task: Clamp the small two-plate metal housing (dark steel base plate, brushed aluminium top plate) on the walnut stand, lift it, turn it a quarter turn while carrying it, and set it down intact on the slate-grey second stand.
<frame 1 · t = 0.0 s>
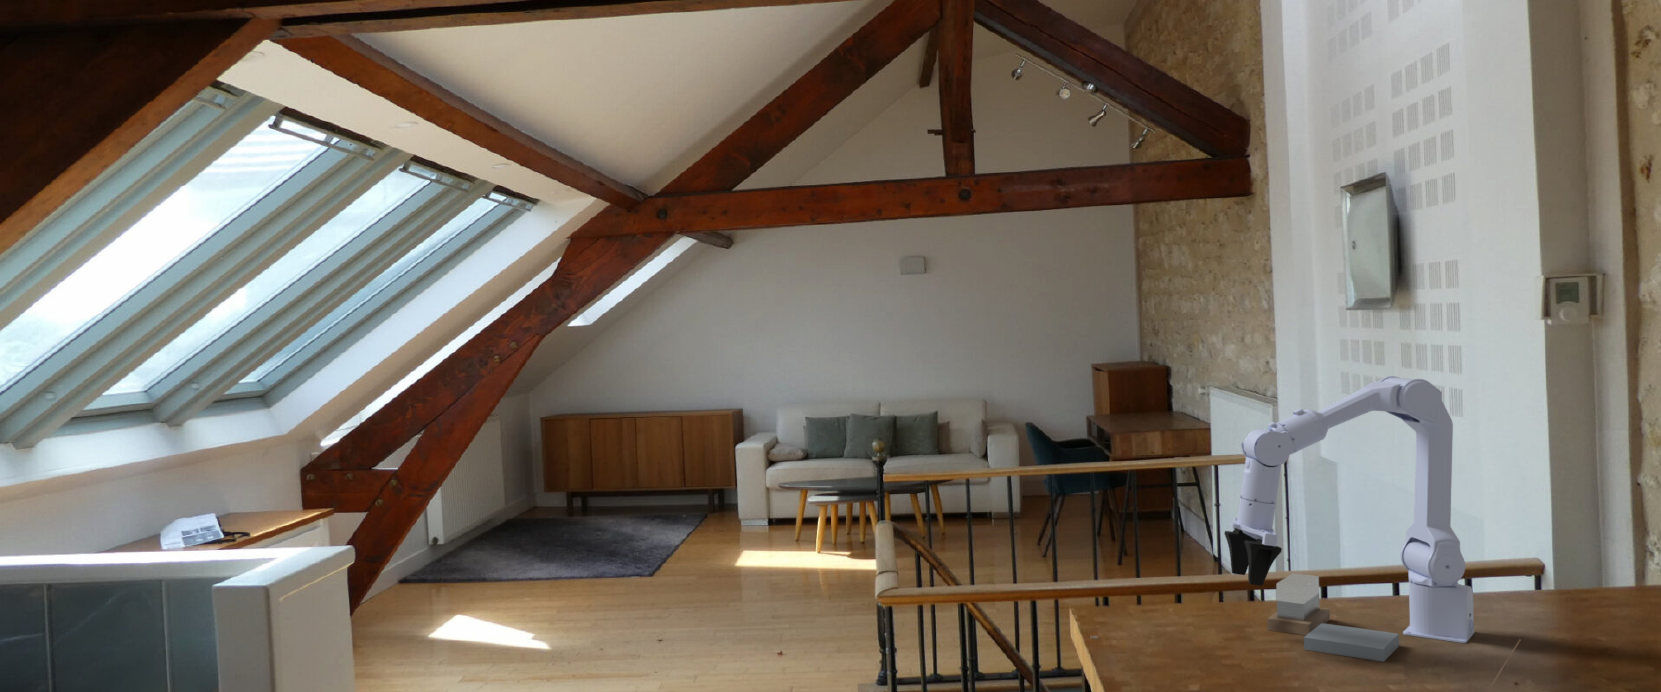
hand: (1246, 579, 187), 10 cm above the table, tool pointing down, fingers open, 7 cm apart
stand b: (1351, 647, 181), on the table
stand a: (1298, 624, 195), on the table
housing: (1298, 613, 195), point 2 cm above the table, touching stand a
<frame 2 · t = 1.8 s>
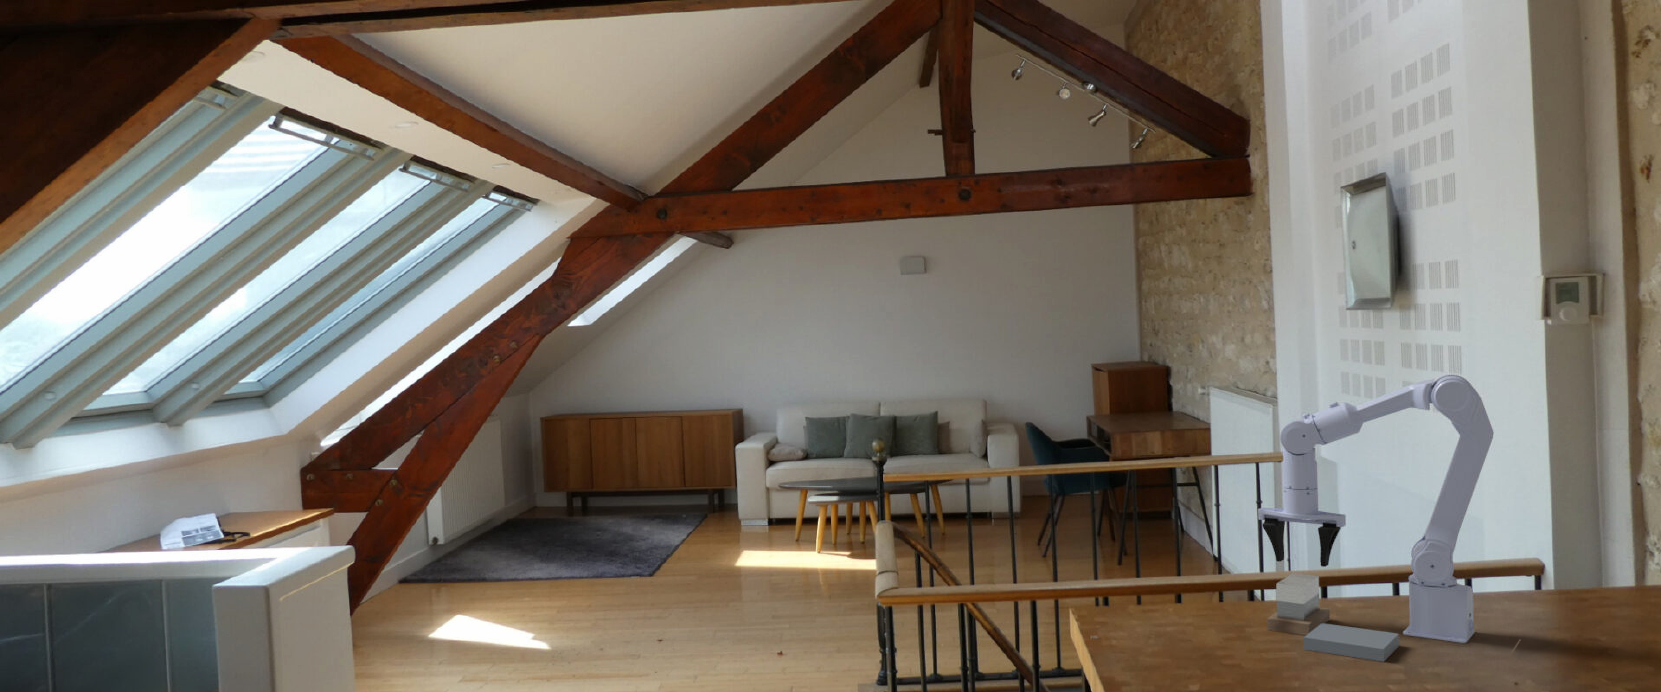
hand: (1302, 562, 197), 10 cm above the table, tool pointing down, fingers open, 7 cm apart
nothing on the table moved.
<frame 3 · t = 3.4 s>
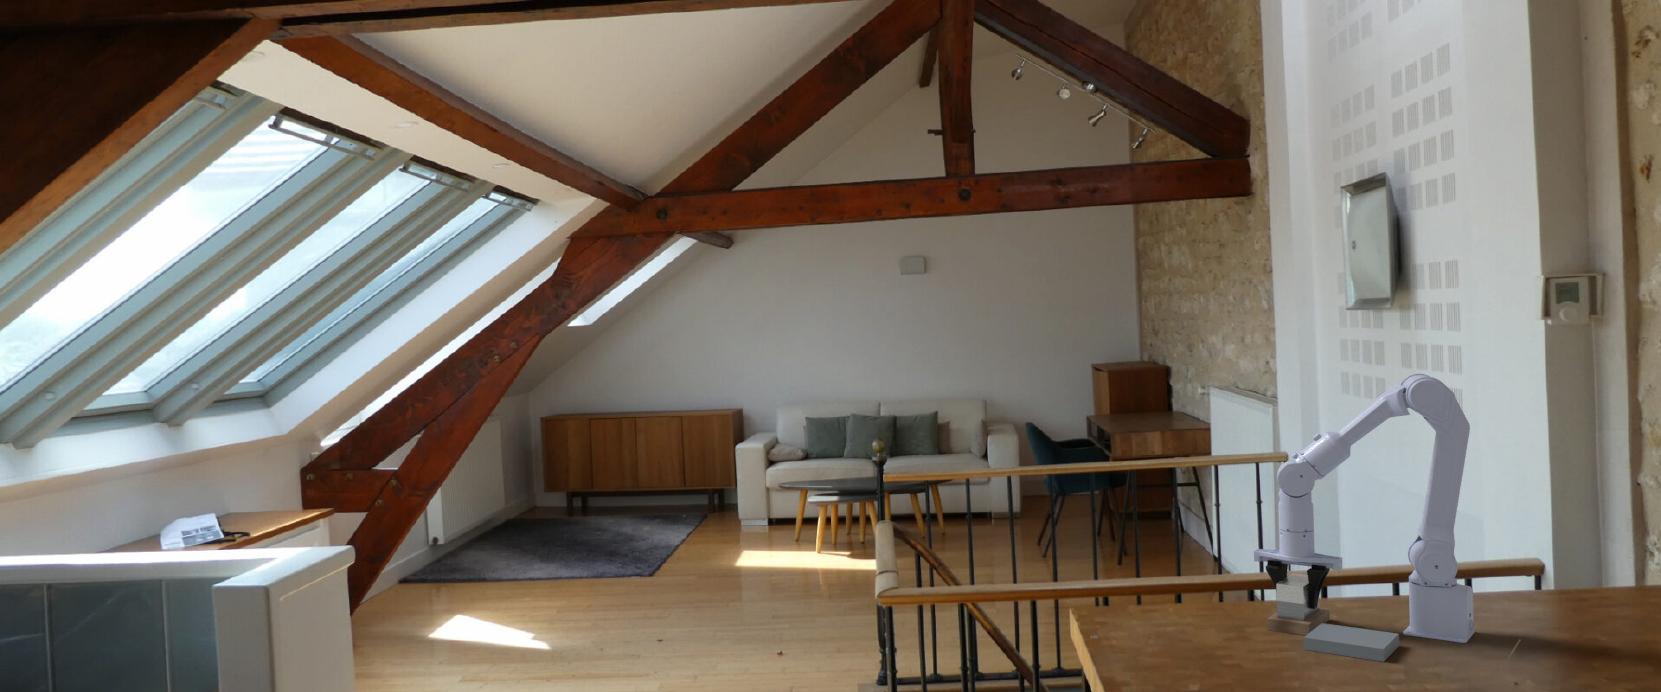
hand: (1298, 605, 195), 3 cm above the table, tool pointing down, fingers closed on housing, 4 cm apart
housing: (1298, 613, 195), point 2 cm above the table, touching gripper, stand a
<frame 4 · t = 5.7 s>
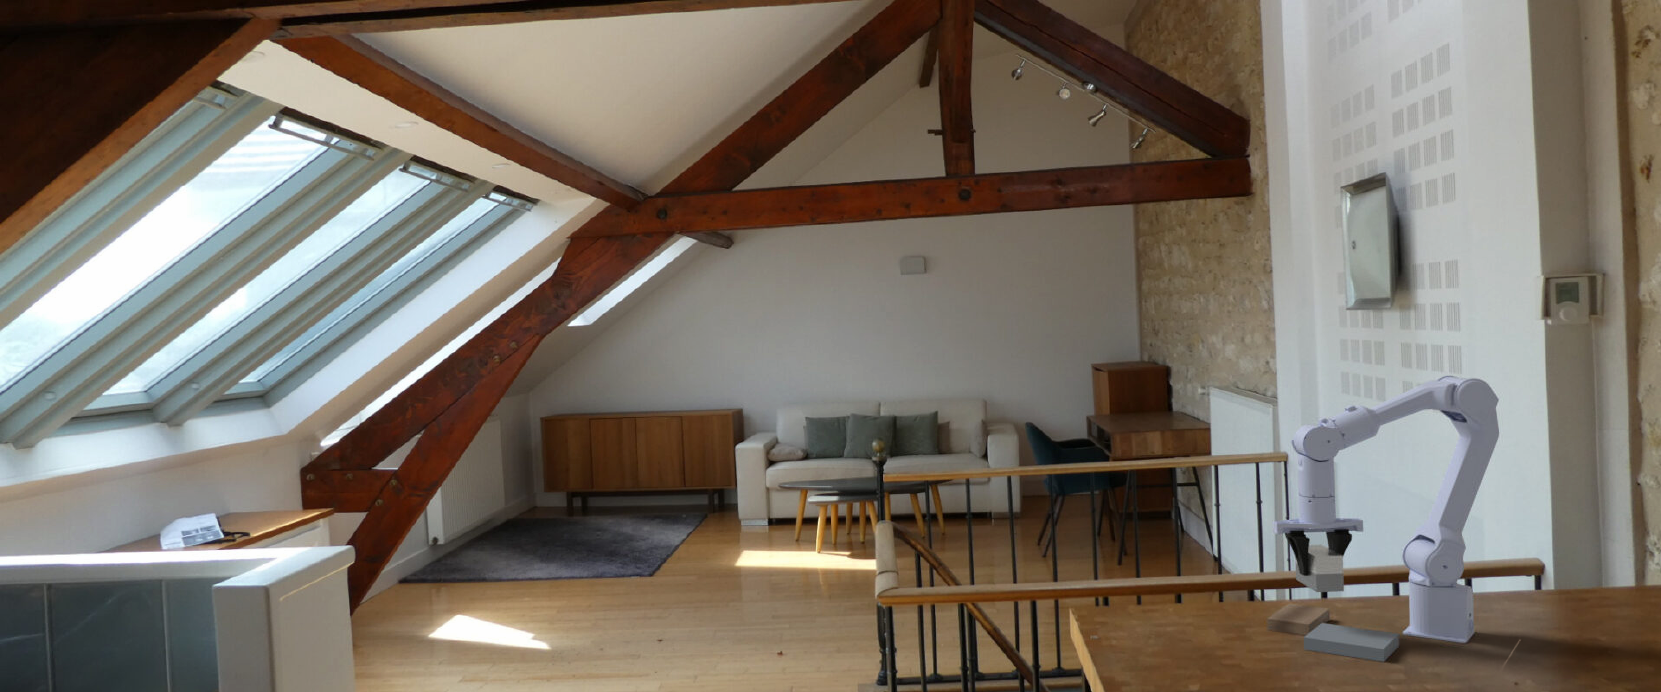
hand: (1319, 574, 189), 10 cm above the table, tool pointing down, fingers closed on housing, 4 cm apart
housing: (1319, 585, 189), point 8 cm above the table, touching gripper
when the fingers open (5 cm above the table, at t = 8.2 s): housing stays where it is, resting on stand b.
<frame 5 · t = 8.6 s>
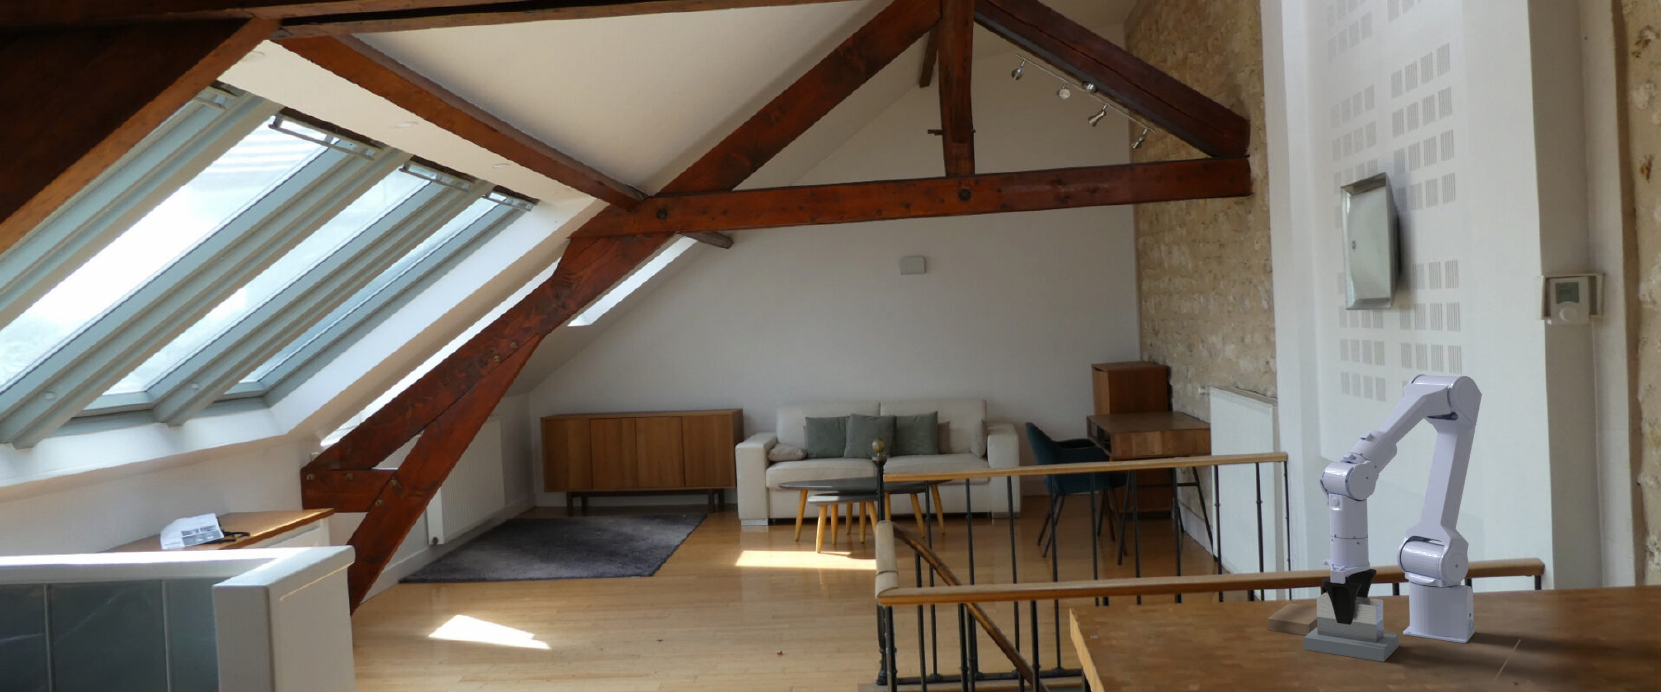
hand: (1350, 617, 181), 5 cm above the table, tool pointing down, fingers open, 7 cm apart
housing: (1350, 635, 181), point 2 cm above the table, touching stand b
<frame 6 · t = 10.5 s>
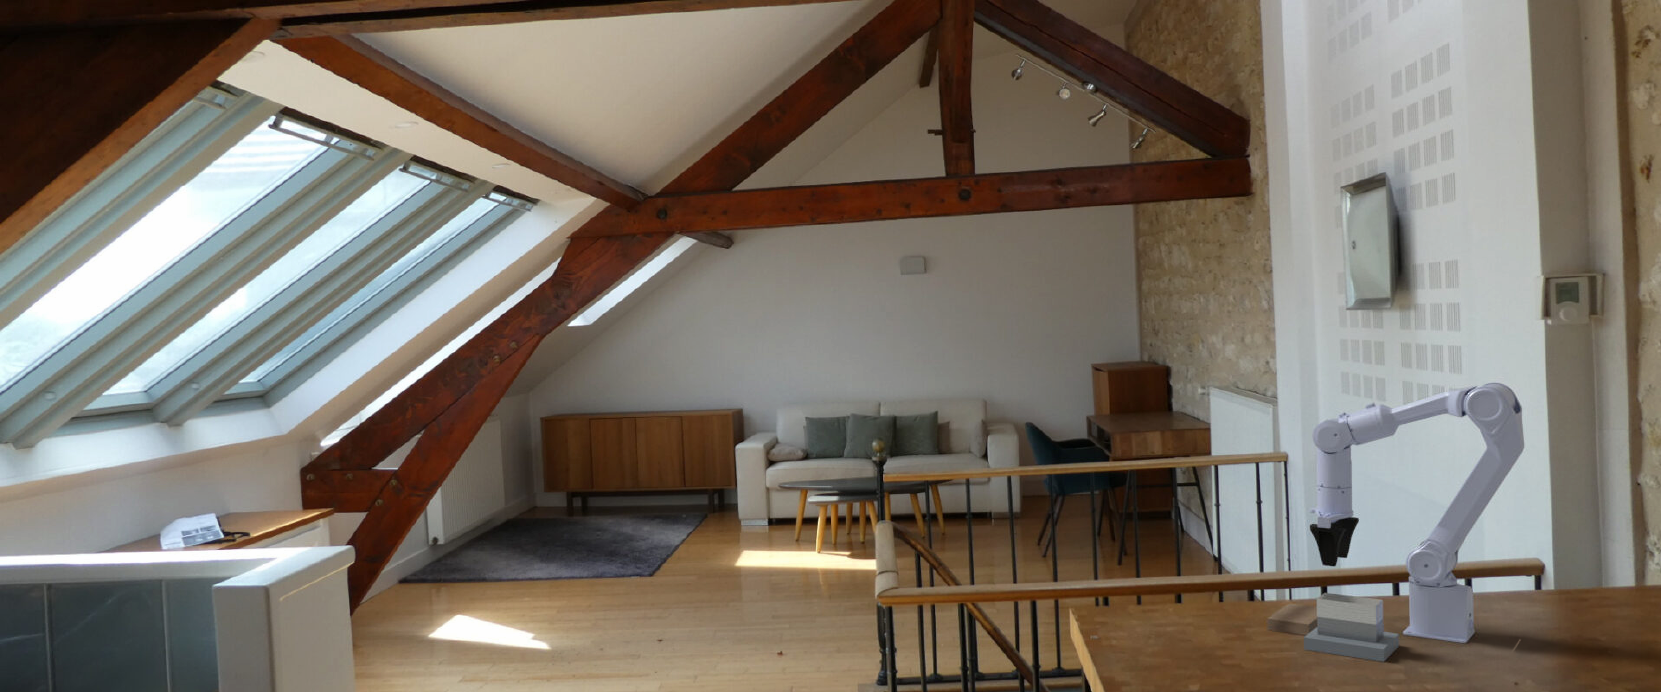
hand: (1334, 561, 197), 10 cm above the table, tool pointing down, fingers open, 7 cm apart
nothing on the table moved.
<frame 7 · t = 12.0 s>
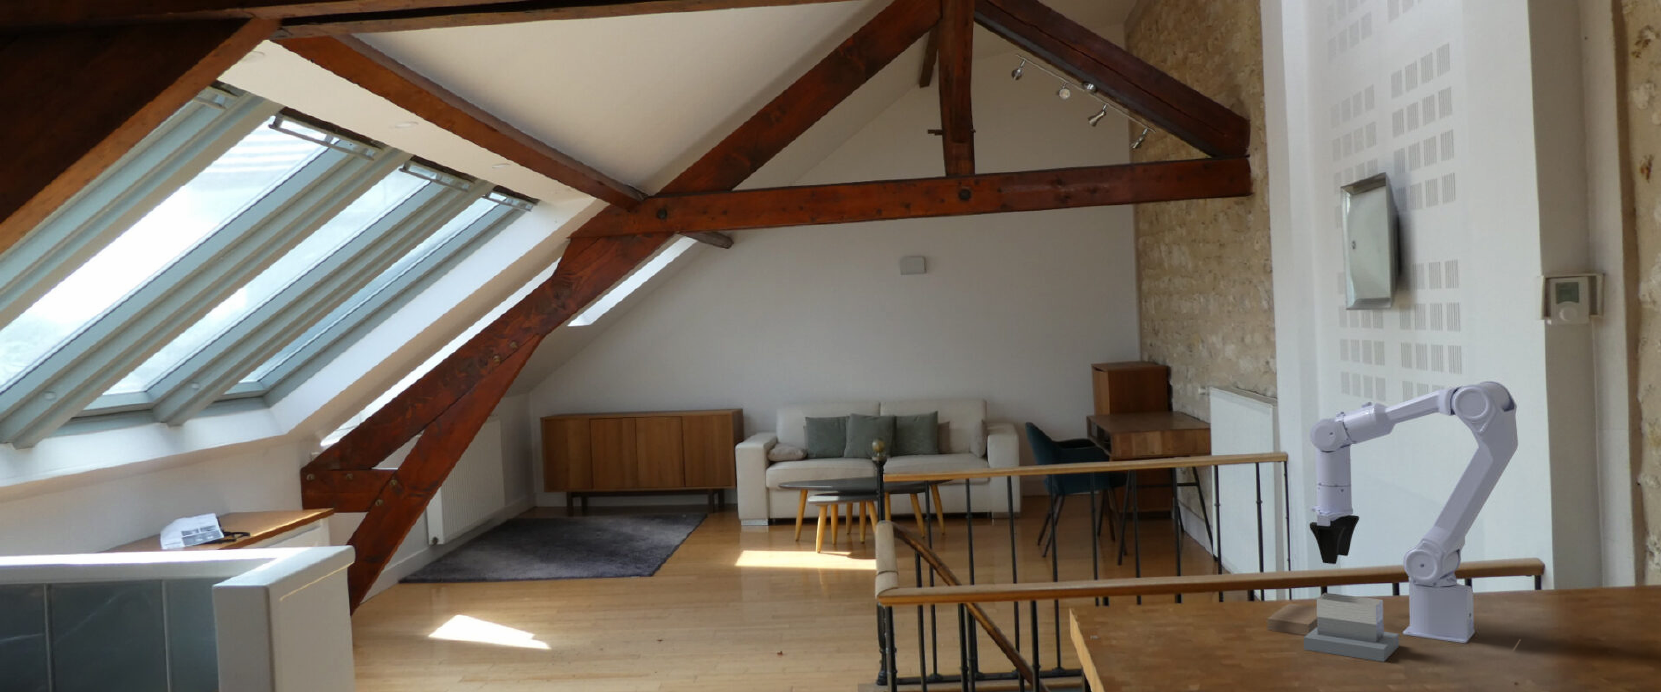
hand: (1335, 559, 199), 10 cm above the table, tool pointing down, fingers open, 7 cm apart
nothing on the table moved.
at the end: housing 0.1 cm off-centre on the stand b, point 2.0 cm above the stand b's base; housing tilted 0°; housing touching stand b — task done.
